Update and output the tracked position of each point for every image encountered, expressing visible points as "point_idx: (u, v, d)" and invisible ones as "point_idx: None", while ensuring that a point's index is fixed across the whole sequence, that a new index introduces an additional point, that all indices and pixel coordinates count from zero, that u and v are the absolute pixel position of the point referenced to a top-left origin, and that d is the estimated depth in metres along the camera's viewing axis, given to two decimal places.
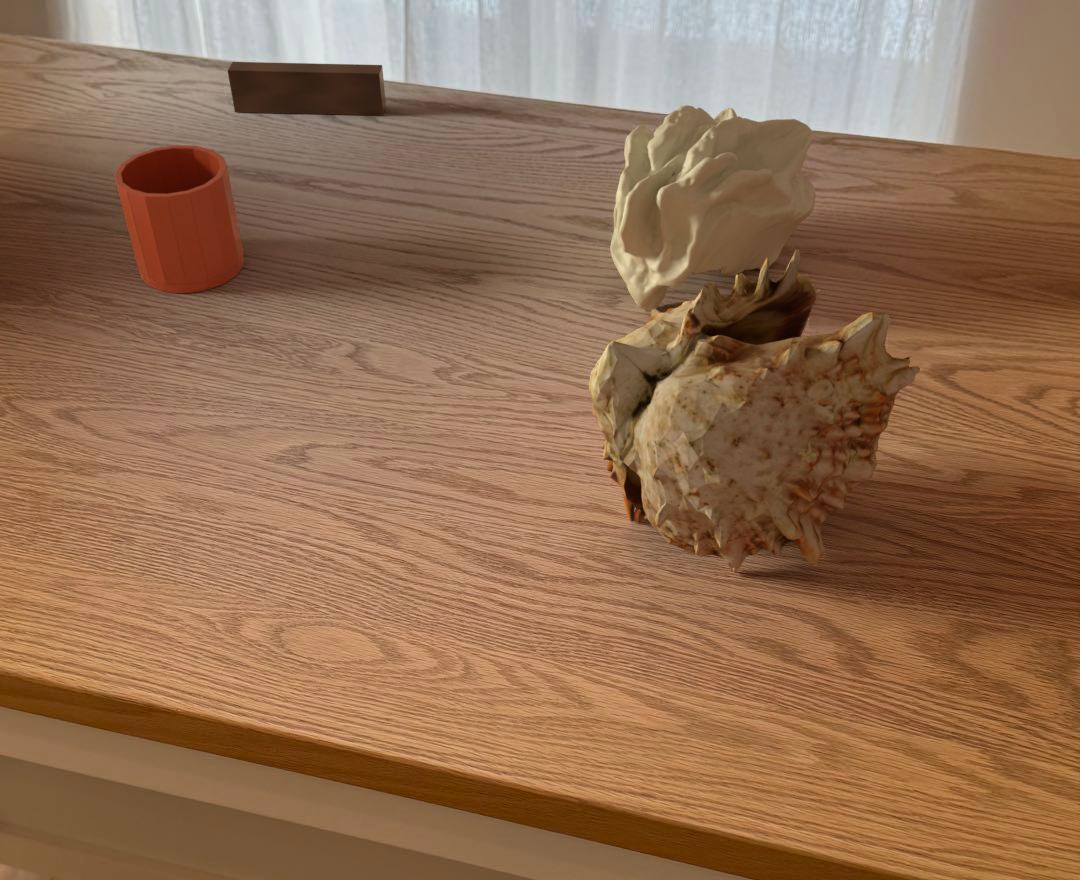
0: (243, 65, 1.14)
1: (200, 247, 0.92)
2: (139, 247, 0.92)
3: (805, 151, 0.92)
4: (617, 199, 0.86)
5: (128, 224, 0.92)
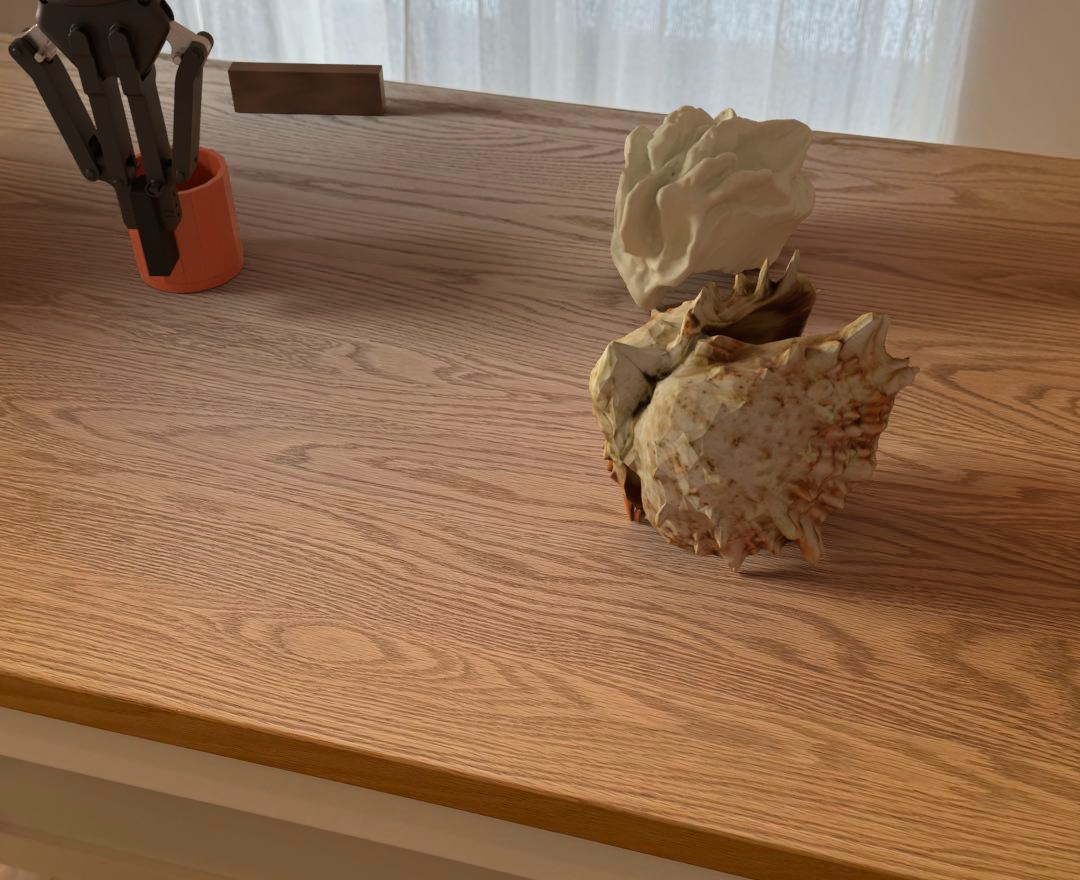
0: (243, 65, 1.14)
1: (200, 246, 0.92)
2: (139, 247, 0.92)
3: (805, 151, 0.92)
4: (617, 199, 0.86)
5: None
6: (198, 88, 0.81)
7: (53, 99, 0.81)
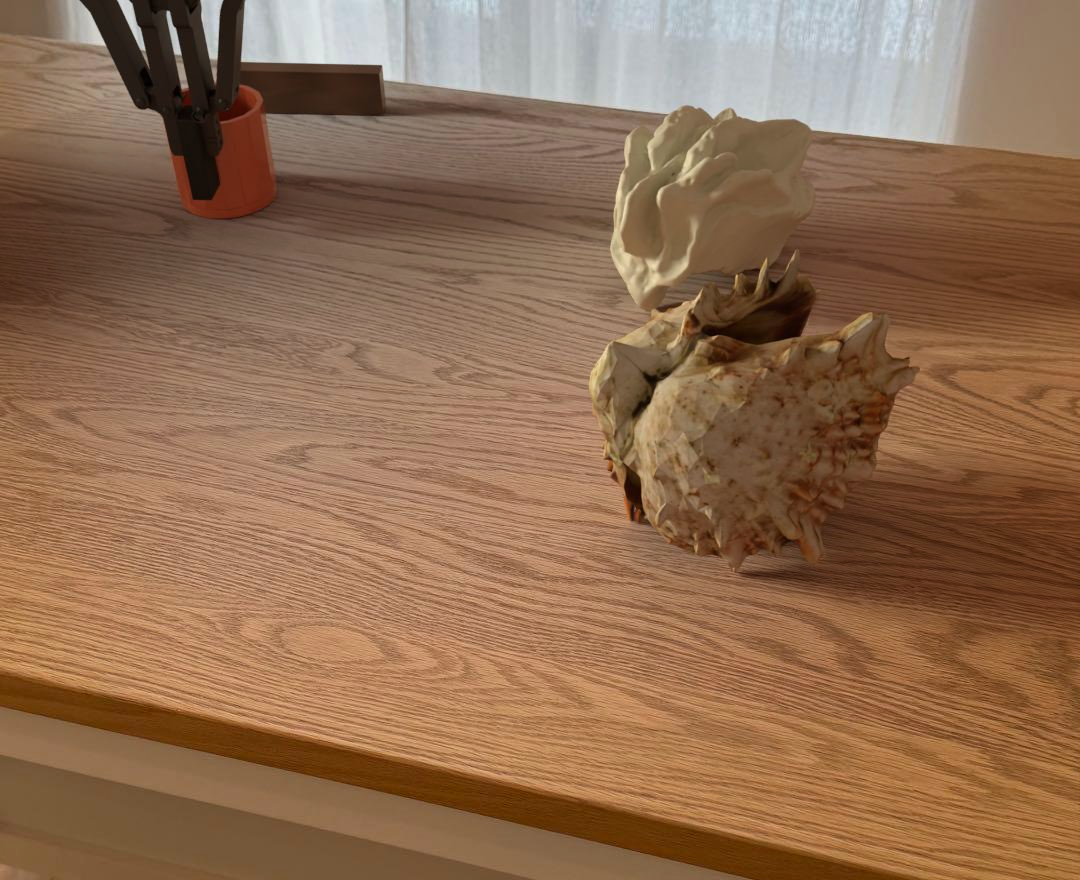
0: (243, 65, 1.14)
1: (240, 174, 1.00)
2: (182, 175, 1.00)
3: (805, 151, 0.92)
4: (617, 199, 0.86)
5: (172, 154, 1.00)
6: (240, 21, 0.89)
7: (109, 32, 0.89)
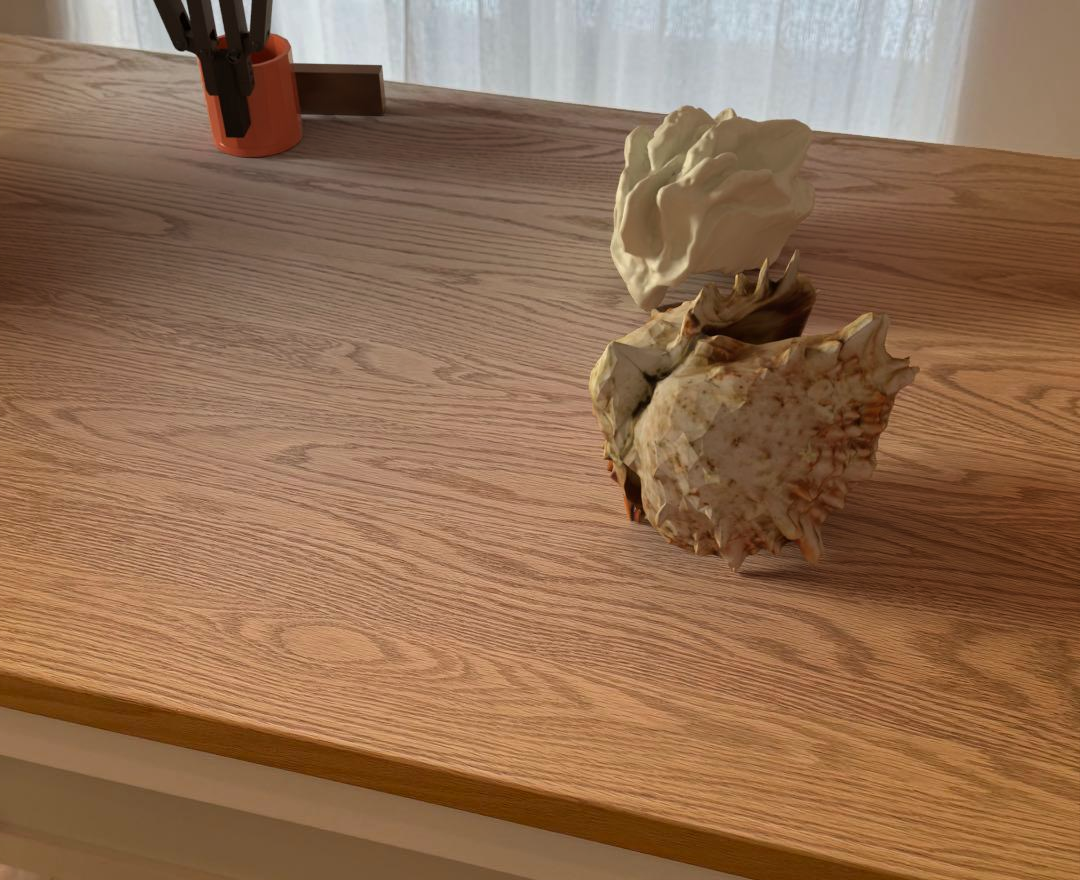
0: None
1: (269, 115, 1.08)
2: (216, 116, 1.08)
3: (805, 151, 0.92)
4: (617, 199, 0.86)
5: (207, 96, 1.08)
6: None
7: None
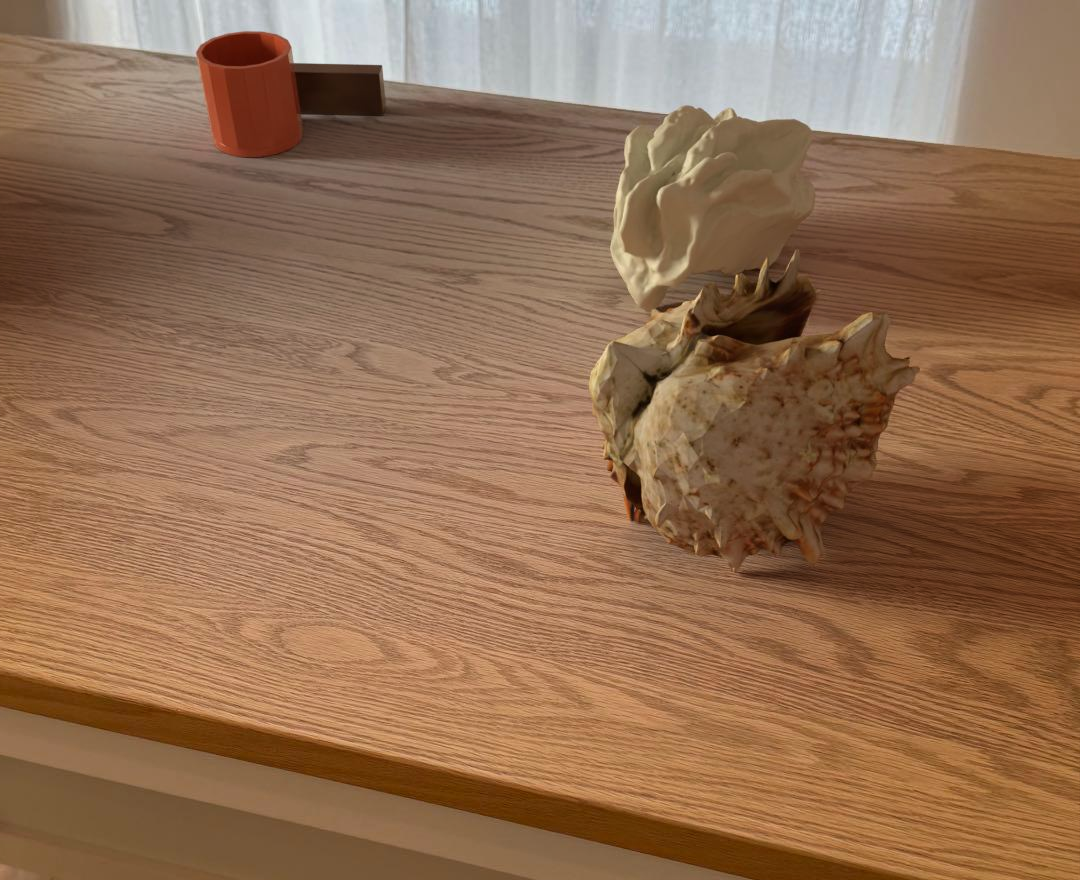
0: None
1: (269, 115, 1.08)
2: (216, 116, 1.08)
3: (805, 151, 0.92)
4: (617, 199, 0.86)
5: (207, 96, 1.08)
6: None
7: None
